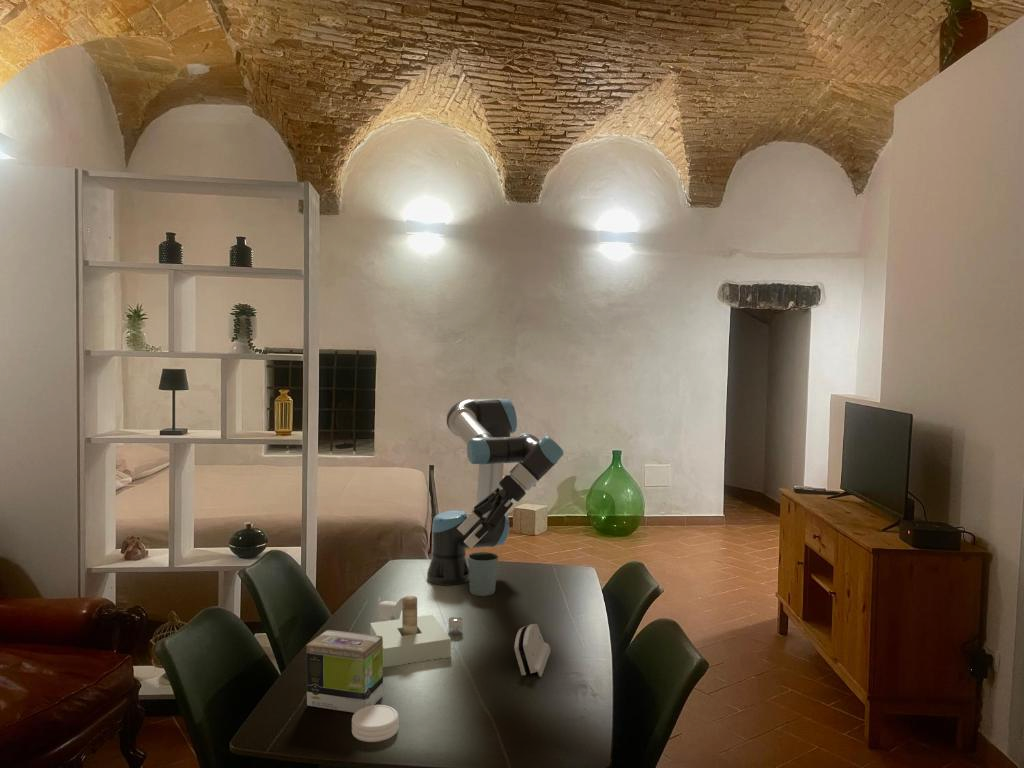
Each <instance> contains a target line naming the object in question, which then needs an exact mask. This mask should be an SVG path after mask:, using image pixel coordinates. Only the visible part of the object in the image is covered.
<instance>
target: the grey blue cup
mask: <svg viewBox="0 0 1024 768" xmlns="http://www.w3.org/2000/svg"><path fill="white" fill-rule="evenodd" d="M467 563H468V566H469V581H468V583H469V585H468V586H469V593H470V594H471V595H475V596H480V597H481V596H482V597H486V596H491V595H493V594H495V592H496V584H497V572H498V563H499V555H498V554H496V553H494V552H489V551H487V552H485V551H483V552H482V551H481V552H480V551H479V552H473V553H470V554H468V556H467Z"/></svg>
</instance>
